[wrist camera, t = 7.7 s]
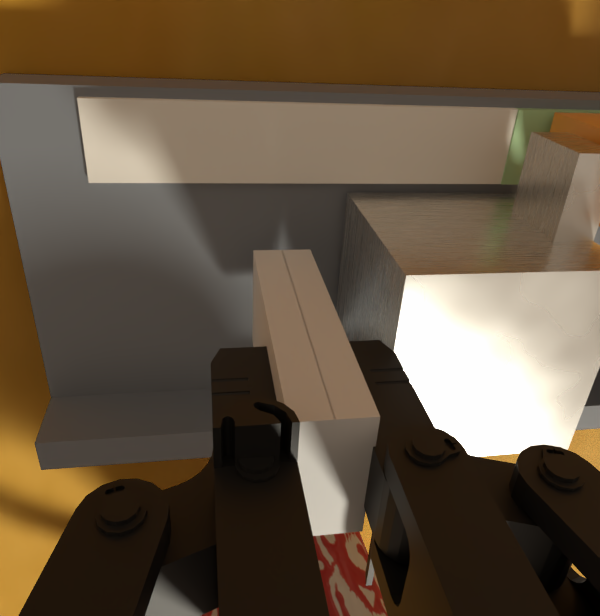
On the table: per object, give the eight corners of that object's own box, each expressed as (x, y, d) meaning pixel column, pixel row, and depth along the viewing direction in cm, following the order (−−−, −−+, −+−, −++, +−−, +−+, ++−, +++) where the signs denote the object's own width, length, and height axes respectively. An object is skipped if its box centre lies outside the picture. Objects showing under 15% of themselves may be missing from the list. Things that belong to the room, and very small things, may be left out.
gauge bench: (66, 392, 19) (-55, 764, 10) (3, 73, 14) (-351, 236, 5) (733, 356, 23) (1075, 595, 14) (866, 100, 18) (1526, 216, 9)
